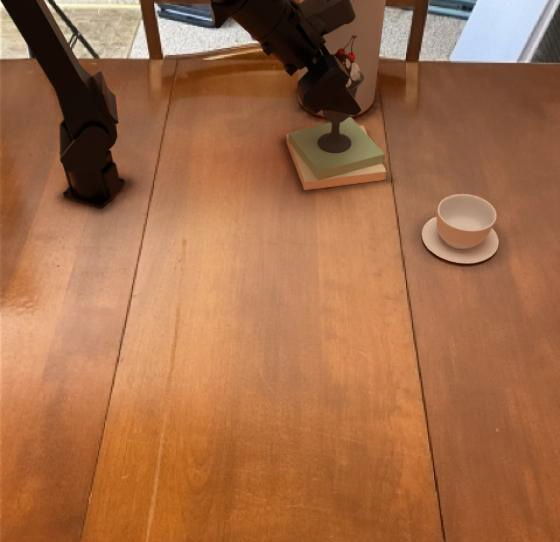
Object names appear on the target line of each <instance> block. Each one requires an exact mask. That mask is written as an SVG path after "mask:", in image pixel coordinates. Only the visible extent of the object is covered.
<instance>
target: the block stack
mask: <svg viewBox="0 0 560 542" xmlns="http://www.w3.org/2000/svg"><path fill="white" fill-rule="evenodd" d="M331 129H332V123H331V122H330V121H329V122H326V123H321V124H318V125H313V126H310V127H306V128H301V129H297V130H294V131H290V132H288V133H287V134H286V145H287V147H288V151H289V153H290V156H291V158H292V161H293V163H294V167H295V169H296V172H297V174H298V177H299V180H300V182H301V185H302V188H303V190H304V191H309V190H318V189H325V188H334V187H341V186H348V185H356V184H363V183H371V182H372V183H373V182H378V181H385V180H386V177H387V169H386V167H385V166H384V162H385V156H386V154H385V153H384V151H383V150H382V149H381V148H380V147H379V146H378V145H377V143H376V142H375V141H374V140H373V139H372V138H371V137H370V136H369V135H368V133H367V130H366V128H365V126H364V125H359V124H358V123H357V122H356V121H355V120H354V119H353V117H349V118H347V119H346V120H345V121H343V122H341V123H340V128H339V129H340V134H344V135H346V136H348V137H349V138H350V140H351V147H350V148H349V149H348V150H346V151H344V152H340V153H331V152H327V151H324V150H322V149H321V148H320V147H319V146H318V143H317V141H318V139H319V138H320V137H321V136H322V135H324V134H326V133H331Z"/></svg>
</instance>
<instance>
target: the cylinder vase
mask: <svg viewBox="0 0 560 542" xmlns="http://www.w3.org/2000/svg"><path fill="white" fill-rule="evenodd" d="M303 1H304V0H299V3H301V2H303ZM350 1H351V4H352V7H353V9H354V12H355V15H356V17H355V19H354V20H353V21H352V22H351V23H349V24H344V25H343V26H341V27H339V28H337V29H336V30H334V31H332V32H330V33H328V34H326V35H323V37H324V38H325V40H326V43H325V46H326V48H327V49H328V51H329V52H330V54H335V53H336V52H337V51H338V49H340V48H342V49H343V48H344V47H345V46H346V45H347V44H348V43H349V42H350V40H351V38H352V37H351V36H352V35H356V36H357V37H356V38H355V39H354V41H353V38H352V40H351V42H350V43H349V45H348V46H347V47H346V48H345V49H344V50H345V51H346V53H345V54H346V55H347V54H348V53H351V45H352V41H353V45H352V52H353V54H355V56H356V58H355V60H354V61H355V62H356V63H357V65H358V66H359V69H360V72H361V73H362V74H363V75H364V80H363V82H362V83H361V84H360V85H359V86H358V88H357V92H356V96H355V100H356V102H357V103H358V105H359V106H360V108H361V111H360V112H359V113H358V114H357V115H356V116H359V115H361V114H363V113H364V112H366V111H367V110H368V109H370V107H372V105H373V103H374V101H375V95H376V88H377V80H378V79H377V78H378V71H379V70H378V69H379V63H380V53H381V46H382V36H383V30H384V29H383V28H384V19H385V12H386V5H387V4H386V3H387V0H350ZM307 71H308V69H307V68H306V67H304V68H303V69H302V70H299V69H298V70H297V82H298V81H299V80H300V79H301V78H302V77H303V76H304V74H305V73H306V72H307ZM296 93H297V92H296ZM297 100H298V102H299V104H300V105H301V106H302V107H303V108H304V109H305V110H306V111H308V110H307V109H306V108H305V107H304V106H303V105H302V103H301V100H300V98H299V95H298V93H297ZM314 115H316V116H318V117H321V118H326V117H325V116H324V115H323V112H322V110H321V111H320V112H318V113H317V114H314ZM350 117H351V118H353V117H355V116H354V115H350V116H349V117H348V118H350Z"/></svg>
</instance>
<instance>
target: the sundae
mask: <svg viewBox="0 0 560 542" xmlns="http://www.w3.org/2000/svg"><path fill="white" fill-rule="evenodd" d="M351 37H352V38H353V41H354V39H355V38H356V37H357V36H356V35H352V36H351ZM352 38H351V40H352ZM351 40H350V42H351ZM353 41H352V45H353ZM350 42H349V43H350ZM349 43H348V44H347V45H346V46H345V47H344V48H343V49H342V48H340V49H338V51H337V52H336V53H335V54H333V55H334V56H335V57H336V58H337V59H338V60H339V61H340V62H341V63H342V65H344V67H345V69H346V71H347V73H348V74H349V77H350V78H349V81H348V83H347V84H346V87H347V88H348V90H349V91H350V93H351V94H352V96H353V97H354V99H355V96H356V92H357V88H358V86H359V85H360V84H361V83H362V82H363V80H364V75H363V74H362V73H361V72H360V69H359V66H358V65H357V63H356V62H355V61H354V60H355V58H356V56H355V54H353V52H352V45H351V53H348V54H347V55H346V54H345V53H346V51H345V50H344V49H345V48H346V47H347V46H348V45H349ZM322 112H323V115H324V116H325V117H324V118H325V119H326V120H327V121H328V122H329V123H330V122H331V123H332V129H331V133H326V134H324V135H322V136H321V137H320V138H319V139H318V141H317V143H318V146H319V147H320V148H321V149H322V150H324V151H327V152H331V153H340V152H344V151H346V150H348V149H349V148H350V147H351V140H350V138H349V137H348V136H346V135H344V134H340V129H339V128H340V123H341V122H343V121H345V120H346V119H347V118H348V117H349V116H350V115H349V114H343V113H338V112H332V111H322ZM349 118H350V117H349Z"/></svg>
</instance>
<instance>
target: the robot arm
mask: <svg viewBox="0 0 560 542" xmlns="http://www.w3.org/2000/svg"><path fill="white" fill-rule="evenodd" d="M208 1H209V4H210V16H211V19H212V21H213V22H212V23H213V26H214V28H215V29H216V30H217V29H221V27H222V26H223V25H224V24H225V23H226V22H227V20H228V19H229V18H231V19H232V20H234V21H235V22H236V24H238V25H239V26H240V27H241V28H242V29H243V30H244V31H246V32H247V33H248V34H249V35H250V36H251V37H252V38H253V39H254V40H256V42H258V43H259V44H260V47H261V50H262V52H263V53H264V54H265V55H266V56H267V57H270V56H271V55H272V56H273V57H274V58H275V59H277V60H278V61H279V62H280V63H281V64H282V66H283V68H284V71H285V72H286V73H287V75H289V76H290V77H293V76H294V75H295V73H296V72H298V69H299V70H302V69H303V68H304V67H306V68H307V69H308V71H307V72H306V73H305V74H304V76H303V77H302V78H301V79H300V80H299V81H298V80H297V81H296V93H298V95H299V98H300V100H301V103H302V105H303V106H304V107H305V108H306V109H307V110H306V109H305V108H304V107H303V106H302V105H301V106H302V107H303V108H304V109H305V110H306V111H308V112H309V113H310V114H311V115H315V114H317V113H318V112H320V111H321V110H322V111H332V112H338V113H343V114H349V115H354V116H353V117H356V116H358V115H357V114H358V113H359V112H360V111H361V108H360V106H359V105H358V103H357V102H356V100H355V99H354V97H353V96H352V94H351V93H350V91H349V90H348V88H347V87H346V84H347V83H348V81H349V78H350V77H349V74H348V73H347V71H346V69H345V67H344V65H342V63H341V62H340V61H339V60H338V59H337V58H336V57H335V56H334V55H333V54H330V52H329V51H328V49H327V48H326V46H325V43H326V40H325V38H324V37H323V35H326V34H328V33H330V32H332V31H334V30H336V29H337V28H339V27H341V26H343V25H344V24H349V23H351V22H352V21H353V20H354V19H355V17H356V15H355V12H354V9H353V7H352V4H351V1H350V0H304V1H303V2H301V3H300V2H297V1H296V0H208ZM0 3H1V4H2V6H3V8H4V9H5V11H6V12H7V14H8V16H9V17H10V19H11V21H12V23H13V24H14V25H15V27H16V29H17V30H18V33H19V34H20V35H21V37H22V38H23V40H24V42H25V43H26V45H27V47H28V49H29V50H30V51H31V53H32V55H33V56H34V58H35V60H36V62H37V63H38V65H39V67H40V68H41V70H42V72H43V73H44V75H45V76H46V78H47V80H48V81H49V83H50V85H51V86H52V88H53V89H54V92H55V94H56V98H57V100H58V103H59V107H60V111H61V113H62V117H63V118H62V120H61V121H60V123H59V127H58V128H59V152H58V154H59V162H60V163H61V164H62V167H63V171H64V174H65V178H66V182H67V184H68V187H67V188H66V189H65V190H64V191H63V193H62V196H63V198H65V199H68V200H71V201H74V202H78V203H81V204H84V205H89V206H91V207H95V208H98V209H102V208H104V207H105V206H106V205H107V204H108V203H109V202H110V201H111V199H113V197H114V196H115V195H116V194H117V193H118V192H119V191H120V190H121V189H122V188H123V187H124V186H125V184H126V180H125V179H124V178H122V177H120V176H119V171H118V167H117V164H116V162H115V161H114V158H113V154H112V153H113V152H112V150H111V149H112V148H113V147H114V146H115V144H116V142H117V140H118V128H117V125H118V124H119V123H120V122H119V114H118V106H117V98H116V94H115V93H113V92H112V90H111V89H110V88H109V87H108V85H107V82H106V79H105V77H104V73H103V72H102V70H100V71H98V72H96V73H95V74H93V75H92V74H90V73H89V72H88V71H87V70H86V69H85V68H83V66H82V64H81V63H80V62H79V60H78V58H77V56H76V54H75V52H74V51H73V48H72V46H71V45H70V44H69V42H68V41H67V38H66V36H65V34H64V33H63V31H62V29H61V27H60V25H59V24H58V22H57V20H56V18H55V17H54V15H53V13H52V12H51V9H50V8H49V6H48V4H47V3H46V1H45V0H0ZM298 95H297V96H298ZM301 103H300V104H301Z"/></svg>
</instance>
